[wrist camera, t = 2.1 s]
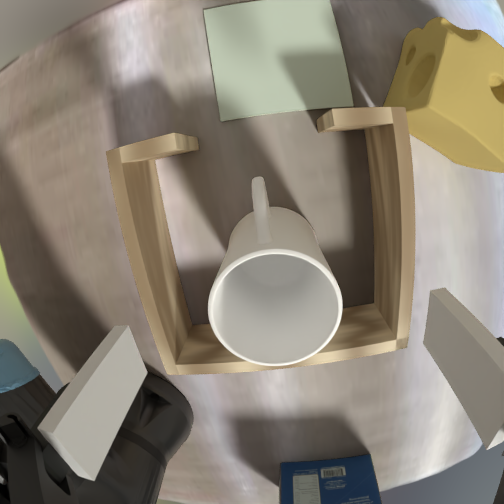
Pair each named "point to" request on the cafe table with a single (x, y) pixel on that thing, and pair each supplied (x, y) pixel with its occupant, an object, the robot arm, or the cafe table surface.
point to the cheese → (453, 93)
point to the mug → (274, 288)
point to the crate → (353, 318)
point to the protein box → (329, 482)
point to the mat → (276, 58)
